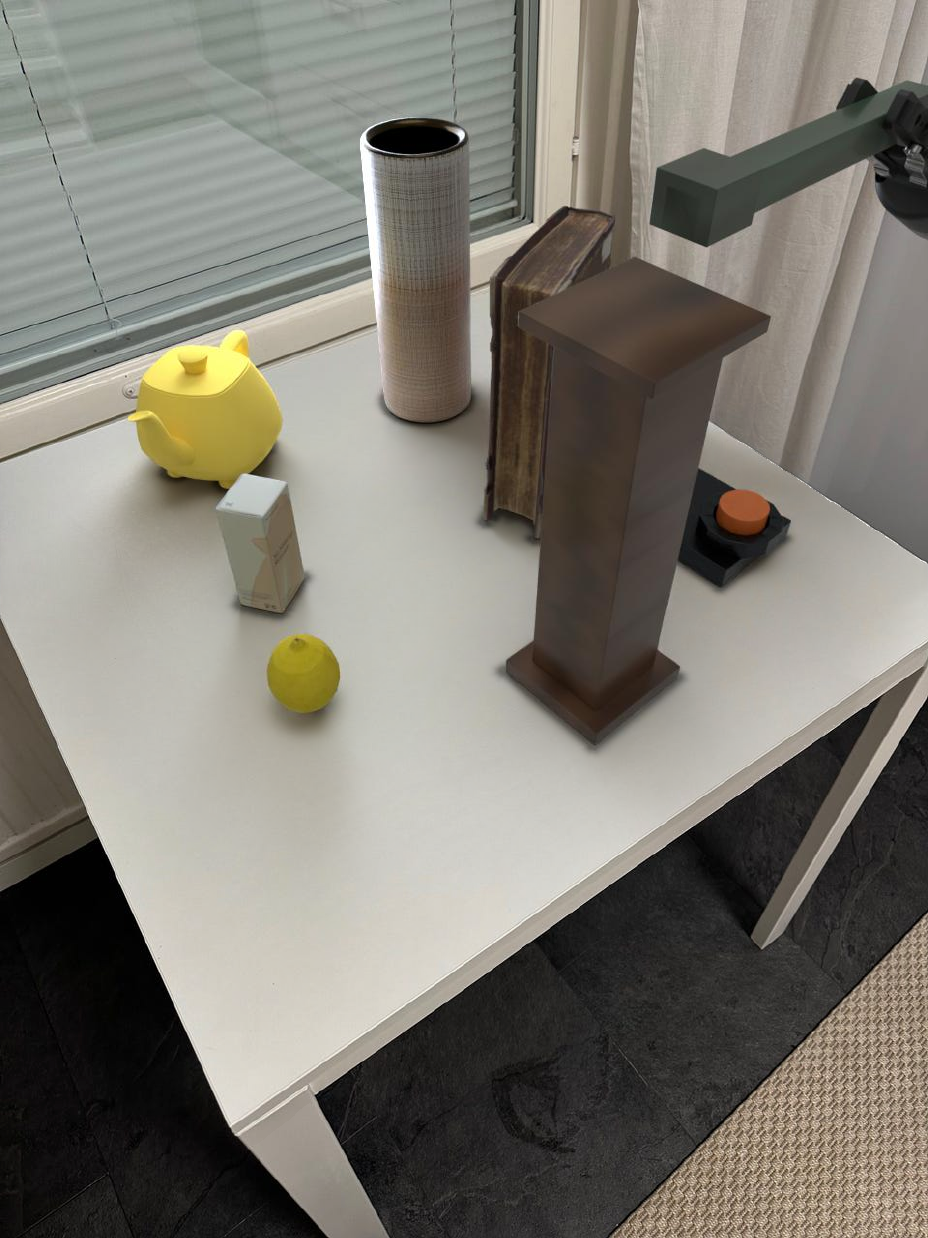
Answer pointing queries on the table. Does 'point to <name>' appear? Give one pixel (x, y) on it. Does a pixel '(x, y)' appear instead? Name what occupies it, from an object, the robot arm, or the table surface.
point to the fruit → (303, 673)
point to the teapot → (207, 412)
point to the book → (532, 353)
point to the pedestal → (620, 480)
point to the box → (261, 542)
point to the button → (742, 512)
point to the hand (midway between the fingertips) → (873, 101)
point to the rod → (767, 170)
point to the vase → (420, 263)
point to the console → (723, 535)
